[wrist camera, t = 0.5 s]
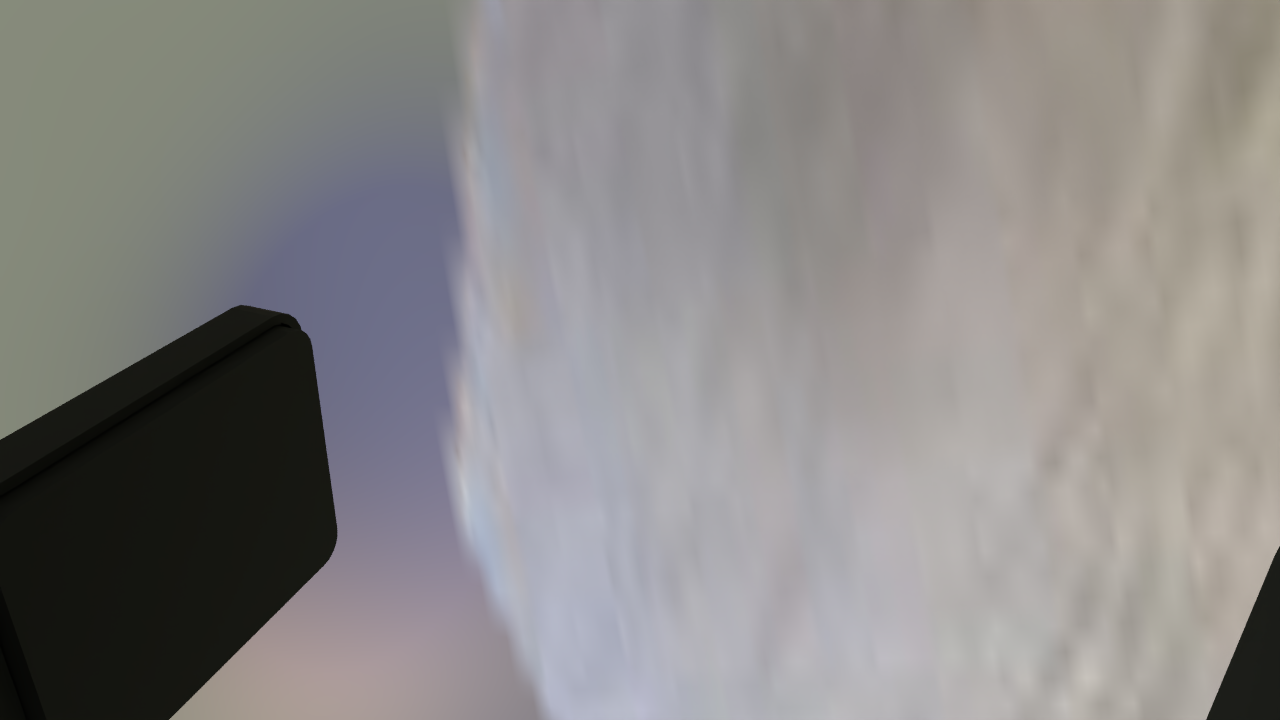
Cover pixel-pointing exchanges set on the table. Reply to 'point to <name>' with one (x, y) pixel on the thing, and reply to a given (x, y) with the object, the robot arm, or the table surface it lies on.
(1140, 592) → the table surface
